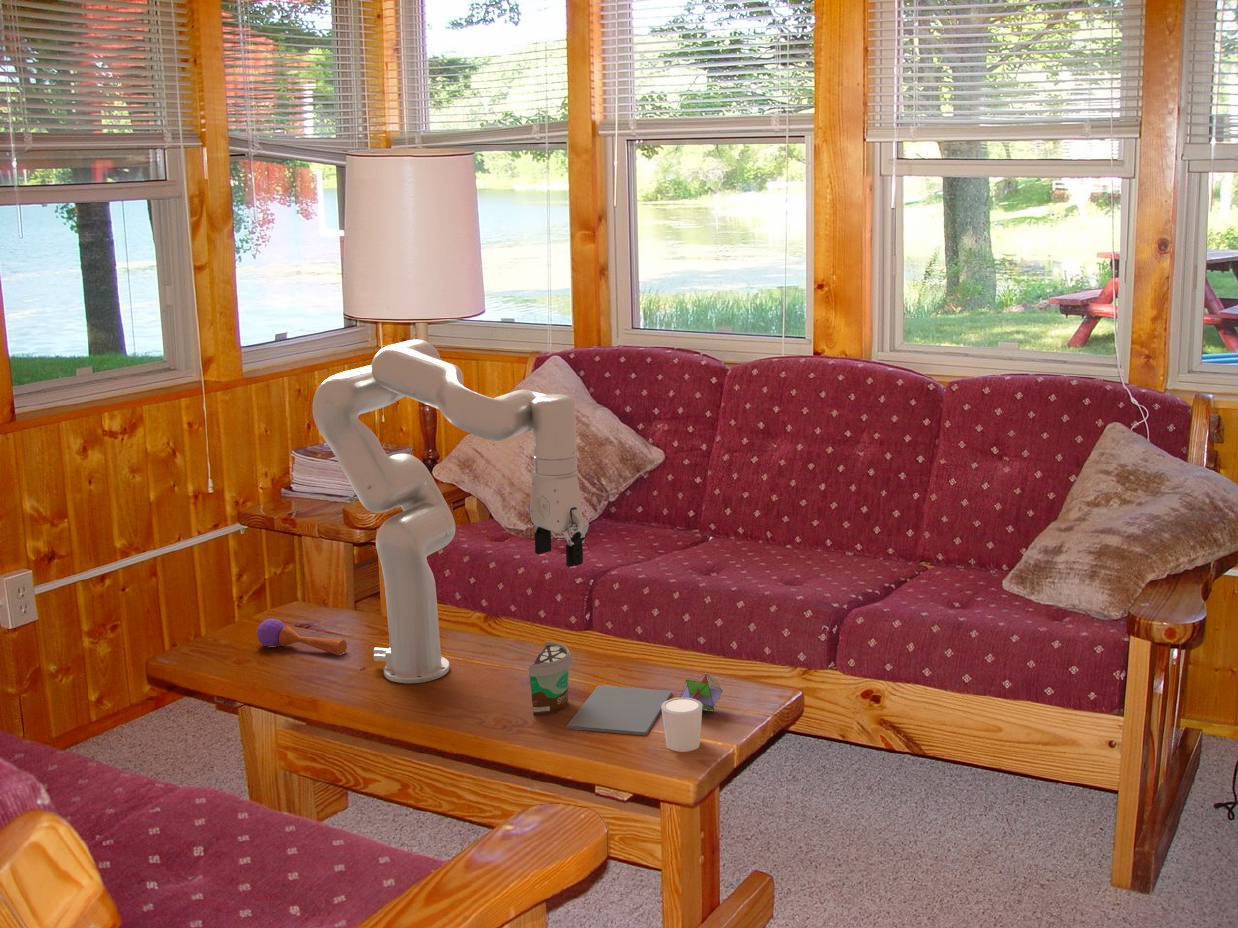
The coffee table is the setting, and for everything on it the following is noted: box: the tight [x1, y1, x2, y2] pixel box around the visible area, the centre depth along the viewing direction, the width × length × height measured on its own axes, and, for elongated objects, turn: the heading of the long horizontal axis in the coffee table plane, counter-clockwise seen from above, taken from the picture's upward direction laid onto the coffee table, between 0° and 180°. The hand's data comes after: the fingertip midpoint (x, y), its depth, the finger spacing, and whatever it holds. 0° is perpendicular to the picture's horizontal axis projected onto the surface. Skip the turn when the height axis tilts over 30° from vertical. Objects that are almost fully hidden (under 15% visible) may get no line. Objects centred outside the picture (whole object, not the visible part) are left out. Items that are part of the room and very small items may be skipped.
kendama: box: [256, 618, 348, 656], centre depth 270 cm, size 6×6×20 cm
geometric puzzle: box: [679, 673, 724, 715], centre depth 232 cm, size 7×7×8 cm
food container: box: [528, 640, 573, 717], centre depth 237 cm, size 12×6×10 cm, turn 168°
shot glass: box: [661, 697, 703, 753], centre depth 219 cm, size 7×7×7 cm
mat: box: [566, 684, 673, 737], centre depth 234 cm, size 14×18×1 cm
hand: (558, 558), depth 237 cm, fingers open, 9 cm apart
